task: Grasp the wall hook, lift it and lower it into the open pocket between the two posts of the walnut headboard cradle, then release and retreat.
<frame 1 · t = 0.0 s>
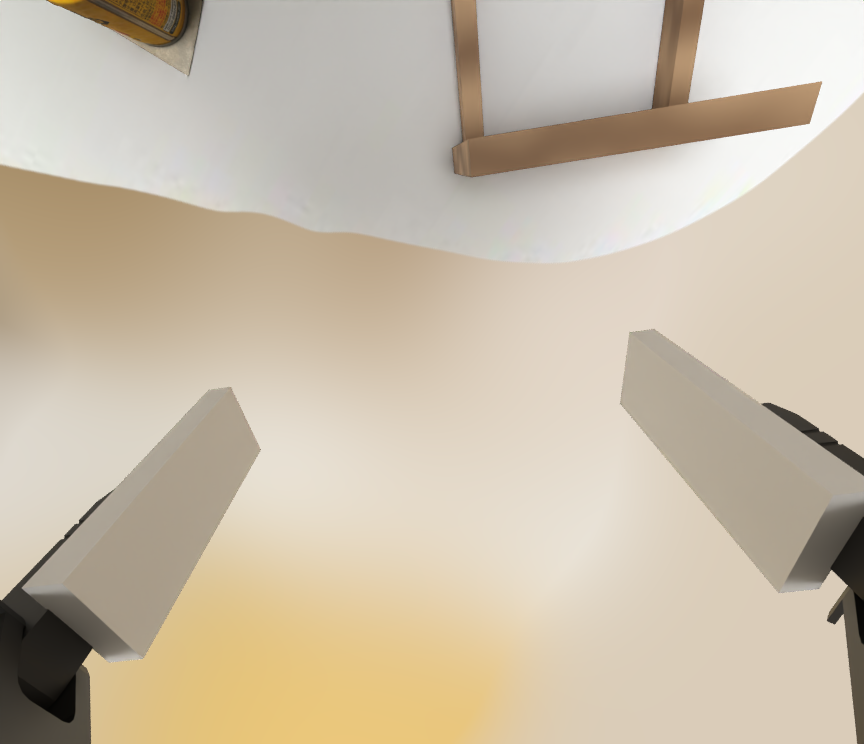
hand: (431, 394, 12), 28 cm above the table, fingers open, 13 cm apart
headboard cradle: (567, 33, 29), on the table
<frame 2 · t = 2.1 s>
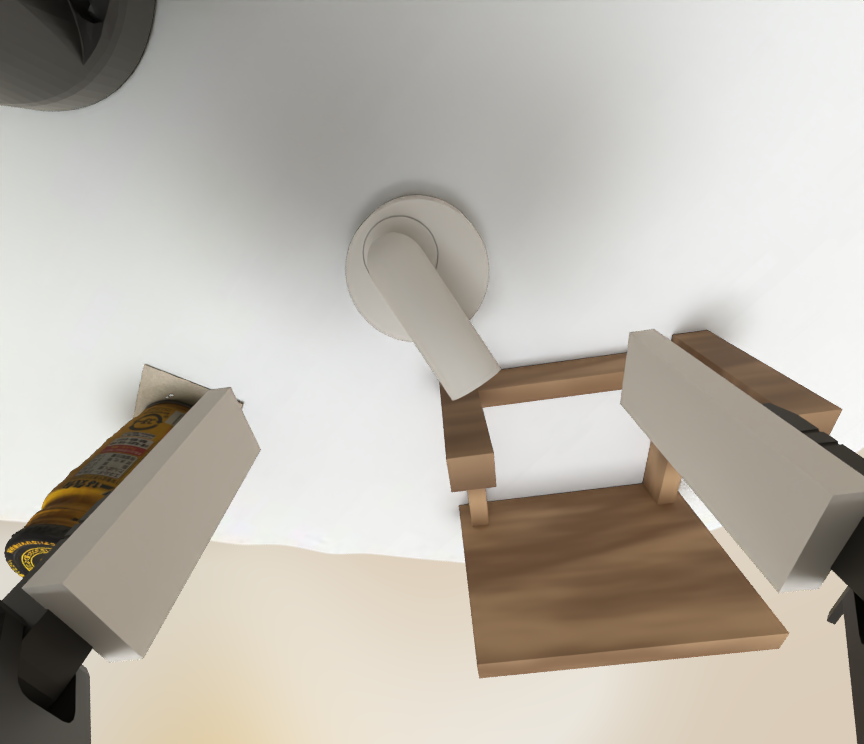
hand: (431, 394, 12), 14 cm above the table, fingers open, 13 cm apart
condiment: (186, 420, 30), on the table
wall hook: (424, 274, 25), on the table
headboard cradle: (565, 440, 32), on the table
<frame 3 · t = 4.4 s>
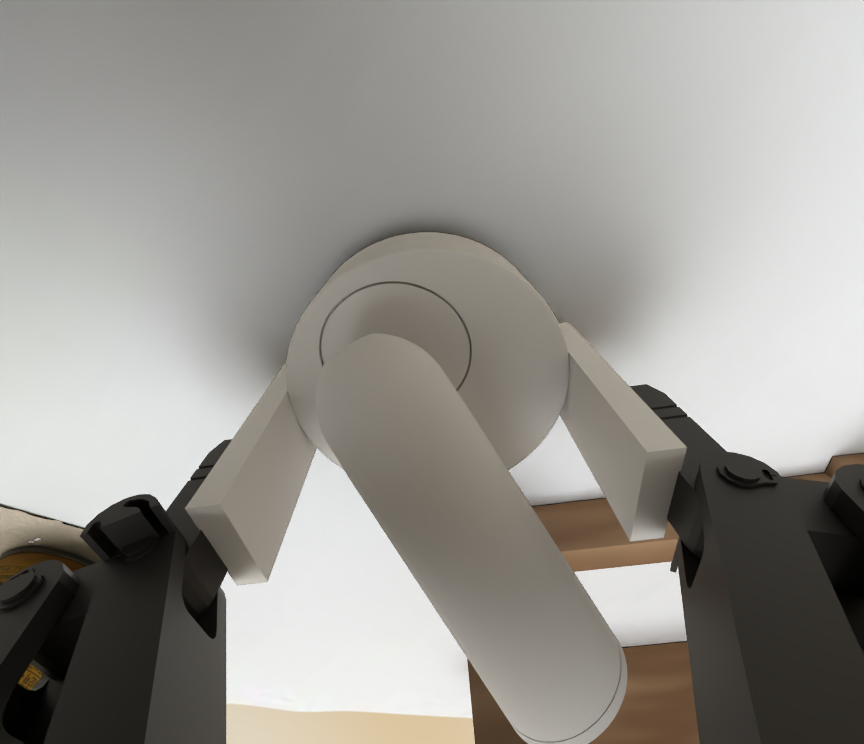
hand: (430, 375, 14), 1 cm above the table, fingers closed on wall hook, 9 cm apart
condiment: (70, 568, 20), on the table
wall hook: (438, 366, 14), on the table, touching gripper
headboard cradle: (640, 589, 22), on the table
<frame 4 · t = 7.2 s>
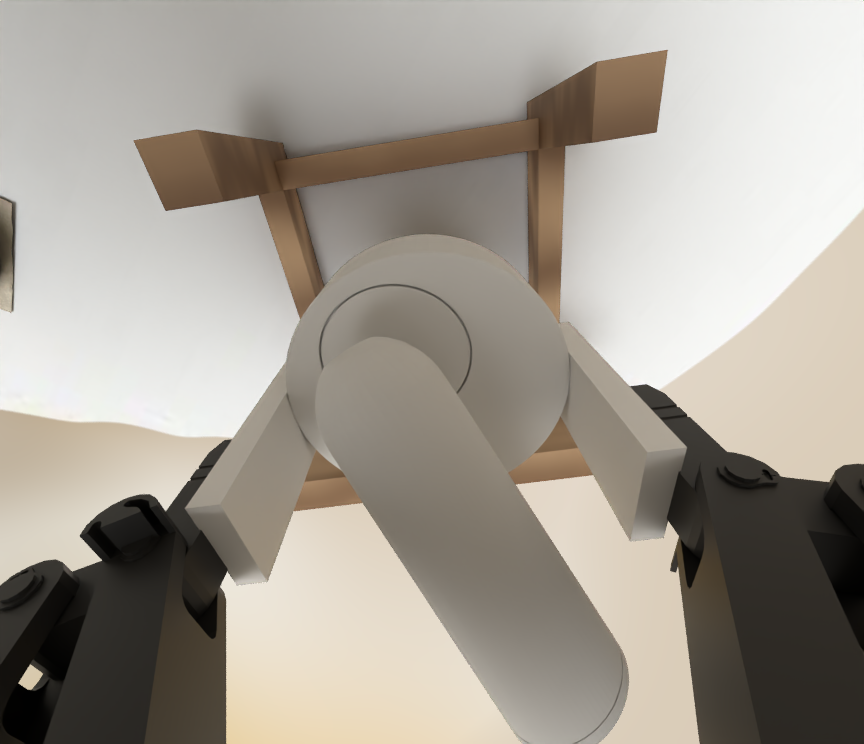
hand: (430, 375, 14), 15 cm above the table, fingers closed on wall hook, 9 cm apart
wall hook: (438, 368, 14), point 15 cm above the table, touching gripper
headboard cradle: (424, 270, 27), on the table
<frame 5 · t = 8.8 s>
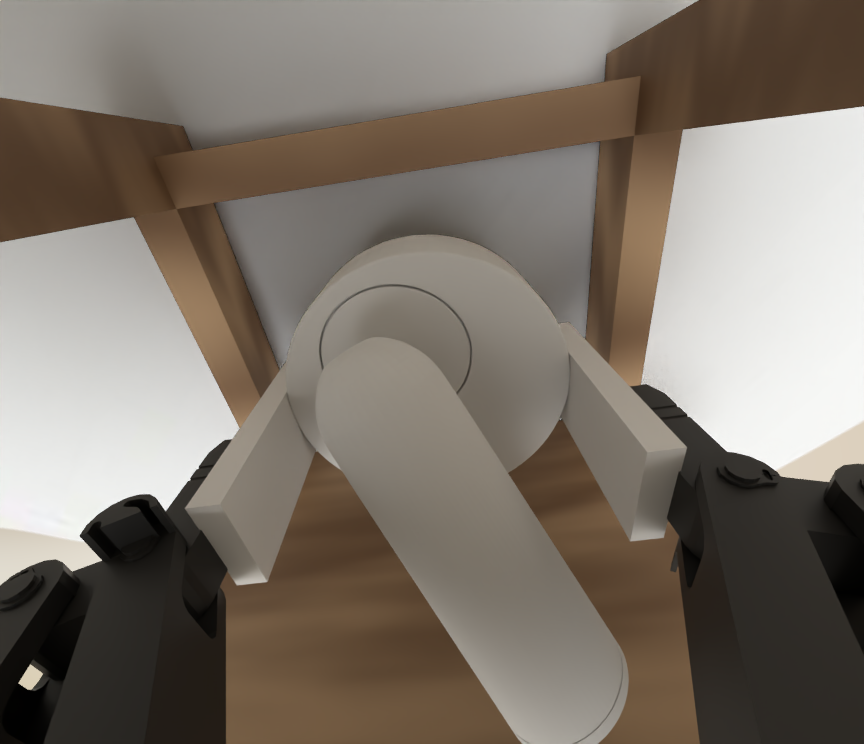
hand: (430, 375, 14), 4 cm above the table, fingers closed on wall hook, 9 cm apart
wall hook: (438, 369, 14), point 4 cm above the table, touching gripper
headboard cradle: (426, 327, 17), on the table
when the fingers open (2 cm above the table, at t = 9.9 s): wall hook drops 2 cm, resting in headboard cradle.
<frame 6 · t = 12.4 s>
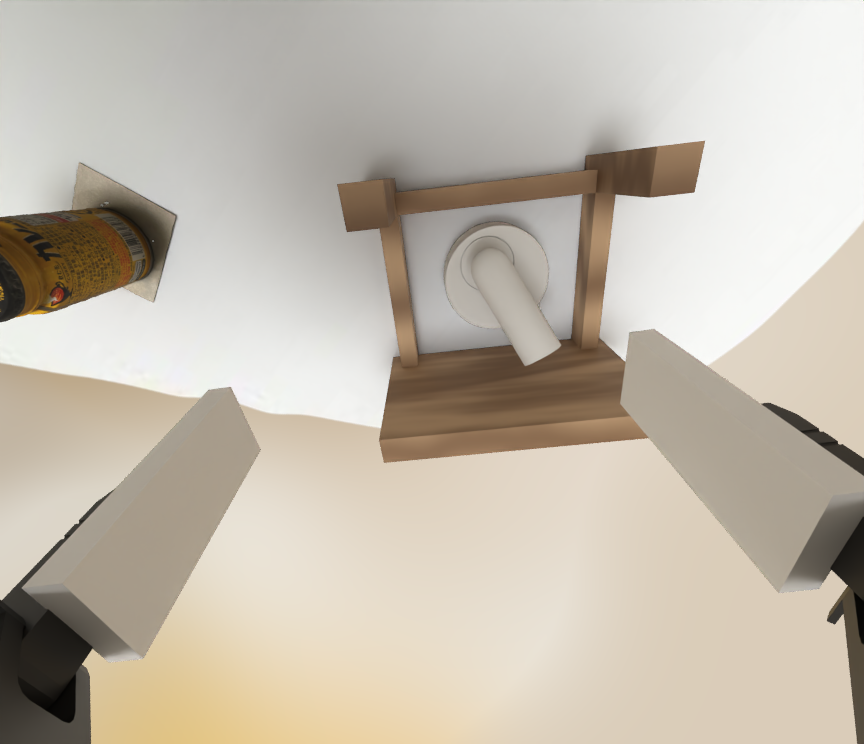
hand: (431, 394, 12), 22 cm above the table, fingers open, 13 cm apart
condiment: (122, 237, 31), on the table
wall hook: (495, 279, 33), resting in headboard cradle
headboard cradle: (492, 281, 33), on the table
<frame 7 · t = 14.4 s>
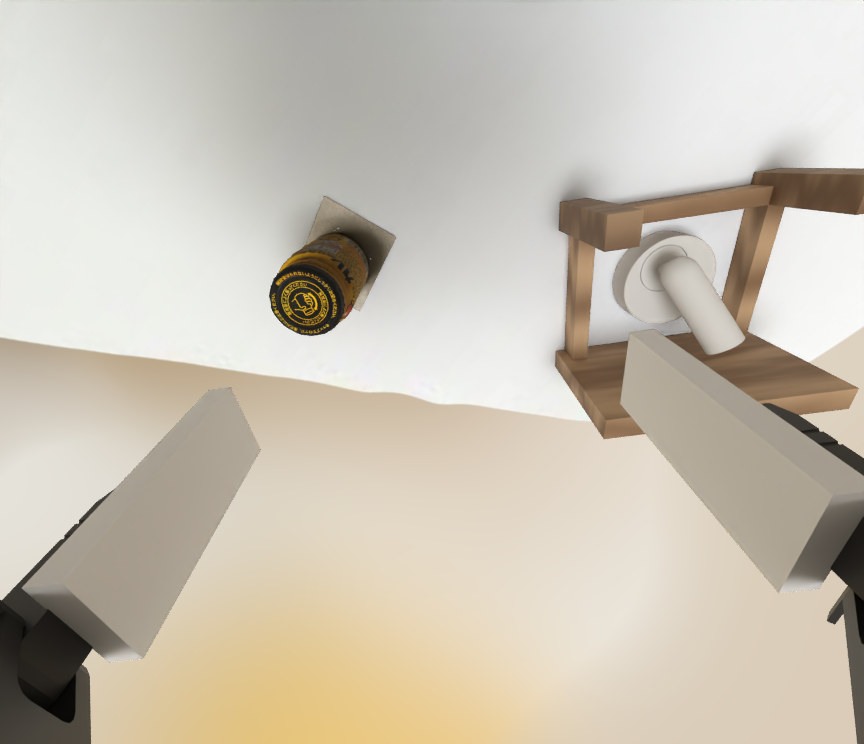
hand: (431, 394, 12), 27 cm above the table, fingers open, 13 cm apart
condiment: (344, 256, 36), on the table
wall hook: (656, 280, 38), resting in headboard cradle
headboard cradle: (654, 281, 38), on the table
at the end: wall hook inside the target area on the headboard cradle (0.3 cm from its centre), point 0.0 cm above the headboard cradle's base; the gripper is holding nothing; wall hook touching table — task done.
